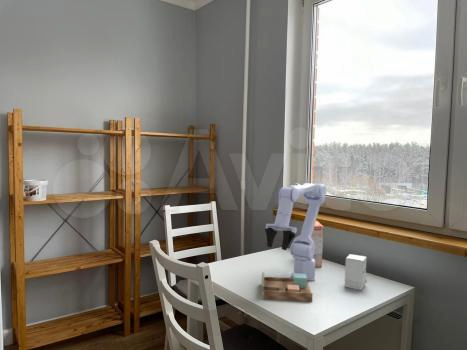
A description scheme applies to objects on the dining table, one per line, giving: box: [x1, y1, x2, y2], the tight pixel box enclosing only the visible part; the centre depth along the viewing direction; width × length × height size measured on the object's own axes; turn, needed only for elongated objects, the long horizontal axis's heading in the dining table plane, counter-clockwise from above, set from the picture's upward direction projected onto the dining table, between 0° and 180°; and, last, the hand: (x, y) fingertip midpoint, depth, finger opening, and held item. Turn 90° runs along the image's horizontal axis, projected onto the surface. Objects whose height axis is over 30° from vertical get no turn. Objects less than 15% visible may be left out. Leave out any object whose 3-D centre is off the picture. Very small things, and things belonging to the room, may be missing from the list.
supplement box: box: [343, 253, 367, 291], centre depth 150 cm, size 7×7×13 cm
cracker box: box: [311, 220, 324, 268], centre depth 180 cm, size 14×6×21 cm, turn 179°
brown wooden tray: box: [260, 272, 314, 303], centre depth 143 cm, size 20×15×5 cm
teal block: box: [293, 272, 307, 288], centre depth 145 cm, size 5×5×4 cm
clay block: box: [287, 285, 300, 292], centre depth 139 cm, size 4×4×4 cm
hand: (276, 248), depth 140 cm, fingers open, 7 cm apart
